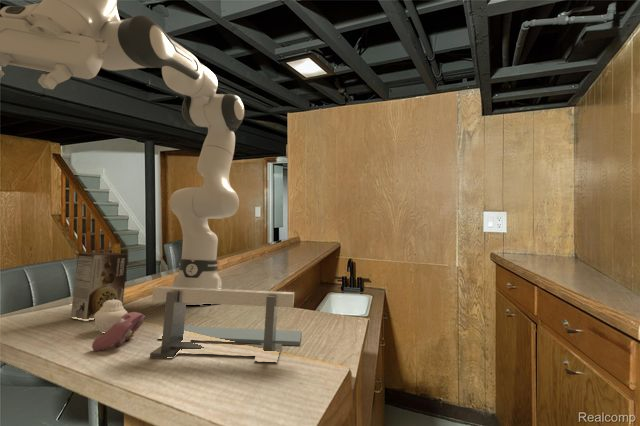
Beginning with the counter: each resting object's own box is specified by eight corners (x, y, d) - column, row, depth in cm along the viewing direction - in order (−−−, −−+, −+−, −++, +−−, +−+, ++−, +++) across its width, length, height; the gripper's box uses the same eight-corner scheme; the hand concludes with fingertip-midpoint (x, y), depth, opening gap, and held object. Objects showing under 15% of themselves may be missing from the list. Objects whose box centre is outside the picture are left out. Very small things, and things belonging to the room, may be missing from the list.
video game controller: (110, 361, 55) (133, 325, 56) (87, 349, 55) (110, 313, 56) (134, 343, 65) (153, 313, 66) (114, 333, 64) (134, 302, 66)
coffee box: (106, 312, 84) (113, 252, 86) (122, 315, 82) (129, 253, 83) (68, 318, 76) (77, 252, 77) (85, 322, 73) (94, 253, 75)
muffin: (132, 330, 69) (136, 298, 69) (104, 337, 63) (108, 302, 64) (113, 326, 71) (117, 295, 72) (84, 332, 65) (89, 299, 66)
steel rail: (158, 298, 59) (159, 286, 60) (293, 304, 60) (294, 292, 60) (152, 301, 57) (153, 287, 57) (292, 307, 57) (293, 294, 58)
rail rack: (170, 343, 61) (176, 286, 62) (281, 348, 62) (285, 291, 63) (149, 357, 53) (156, 292, 54) (277, 363, 54) (281, 298, 55)
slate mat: (175, 329, 71) (175, 325, 71) (301, 334, 72) (301, 331, 72) (158, 339, 63) (158, 335, 63) (299, 345, 64) (300, 341, 64)
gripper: (120, 56, 63) (87, 105, 57) (20, 37, 63) (-24, 84, 56) (104, 25, 57) (65, 76, 51) (-6, 4, 57) (-59, 53, 51)
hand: (17, 80), depth 54 cm, fingers open, 8 cm apart
